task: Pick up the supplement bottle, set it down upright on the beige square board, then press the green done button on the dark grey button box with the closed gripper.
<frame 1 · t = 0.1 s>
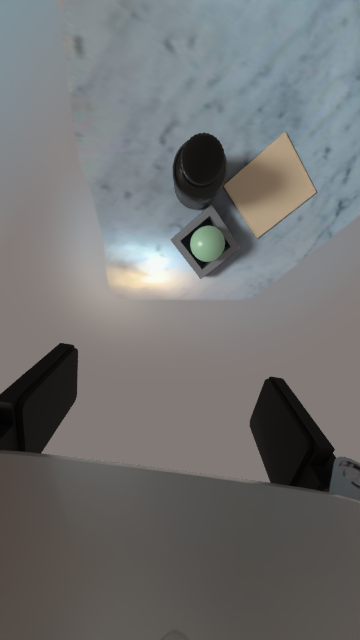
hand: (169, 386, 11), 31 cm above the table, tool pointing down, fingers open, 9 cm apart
supplement bottle: (195, 186, 35), on the table
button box: (203, 243, 38), on the table
beige square board: (269, 189, 35), on the table
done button: (206, 243, 34), point 4 cm above the table, slide at 0.0 cm
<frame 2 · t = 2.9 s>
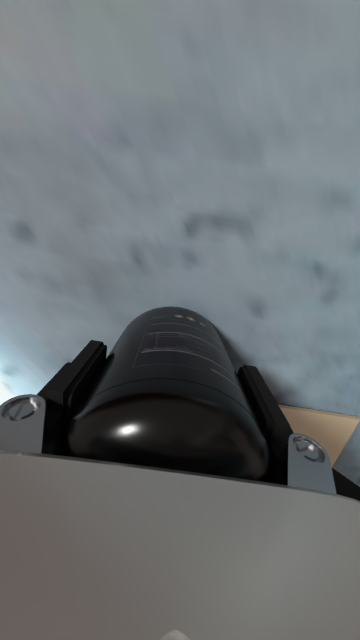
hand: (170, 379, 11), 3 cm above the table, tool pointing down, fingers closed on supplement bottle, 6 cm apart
supplement bottle: (172, 351, 15), on the table, touching gripper
beige square board: (265, 454, 18), on the table
when the fingers open (4 cm above the table, at t = 8.3 s): supplement bottle stays where it is, resting on beige square board.
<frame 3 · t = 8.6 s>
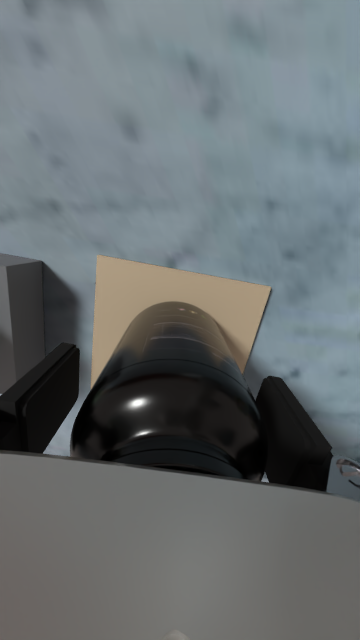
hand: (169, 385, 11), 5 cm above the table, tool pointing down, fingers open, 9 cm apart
supplement bottle: (174, 343, 16), resting on beige square board
beige square board: (172, 341, 16), on the table
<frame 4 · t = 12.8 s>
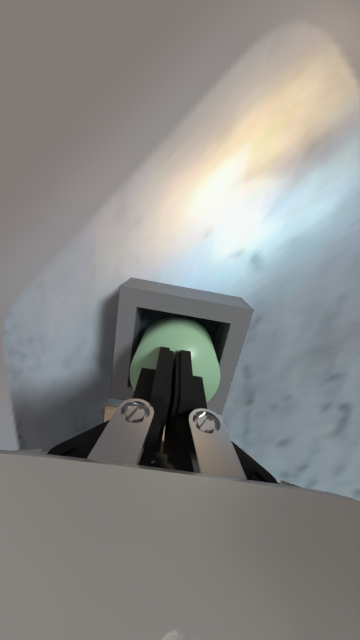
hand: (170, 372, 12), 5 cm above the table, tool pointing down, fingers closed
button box: (177, 338, 17), on the table
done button: (175, 362, 14), point 4 cm above the table, slide at 0.8 cm, touching gripper
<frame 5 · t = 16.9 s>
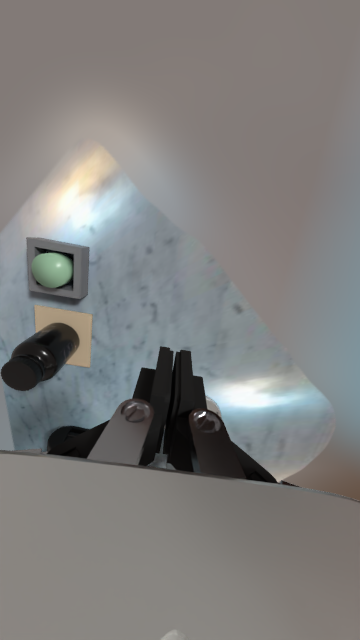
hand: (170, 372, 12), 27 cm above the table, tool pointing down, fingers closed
supplement bottle: (63, 338, 41), resting on beige square board
end cap: (73, 440, 50), on the table
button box: (64, 267, 37), on the table
beige square board: (64, 337, 41), on the table
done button: (54, 269, 34), point 3 cm above the table, slide at 1.4 cm
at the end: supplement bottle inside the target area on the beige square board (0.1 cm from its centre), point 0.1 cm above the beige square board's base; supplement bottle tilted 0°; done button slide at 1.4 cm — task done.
